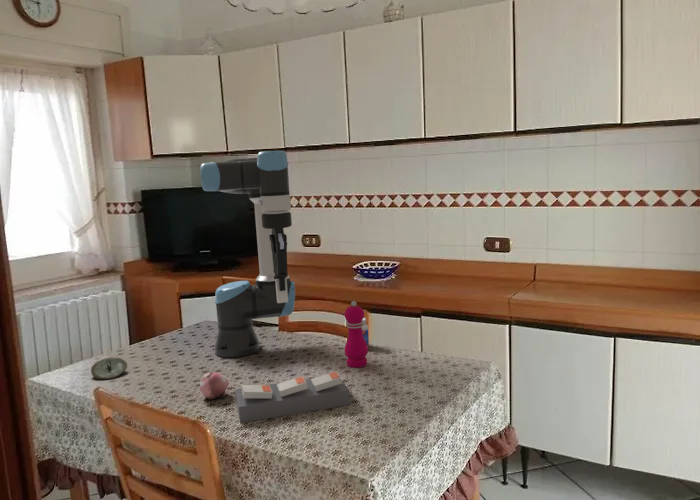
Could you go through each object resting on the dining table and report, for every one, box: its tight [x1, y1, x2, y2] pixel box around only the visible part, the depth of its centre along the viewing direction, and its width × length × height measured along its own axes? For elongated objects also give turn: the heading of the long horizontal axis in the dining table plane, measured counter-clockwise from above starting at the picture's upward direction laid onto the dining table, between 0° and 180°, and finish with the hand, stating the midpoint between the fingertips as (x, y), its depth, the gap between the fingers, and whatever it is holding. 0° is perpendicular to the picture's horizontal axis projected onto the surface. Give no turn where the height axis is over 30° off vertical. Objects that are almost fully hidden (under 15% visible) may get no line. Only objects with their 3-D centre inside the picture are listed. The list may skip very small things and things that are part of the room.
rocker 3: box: [310, 370, 343, 392], centre depth 152 cm, size 5×7×2 cm
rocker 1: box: [241, 384, 272, 399], centre depth 147 cm, size 5×7×2 cm
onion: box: [199, 371, 230, 401], centre depth 160 cm, size 8×8×7 cm
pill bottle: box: [362, 317, 370, 348], centre depth 196 cm, size 6×5×10 cm
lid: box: [90, 356, 128, 381], centre depth 183 cm, size 11×10×5 cm
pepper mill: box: [344, 300, 369, 369], centre depth 179 cm, size 7×7×20 cm
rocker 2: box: [276, 375, 308, 397], centre depth 150 cm, size 5×7×2 cm
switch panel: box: [234, 377, 351, 424], centre depth 152 cm, size 12×28×4 cm, turn 105°
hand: (282, 302), depth 153 cm, fingers closed
